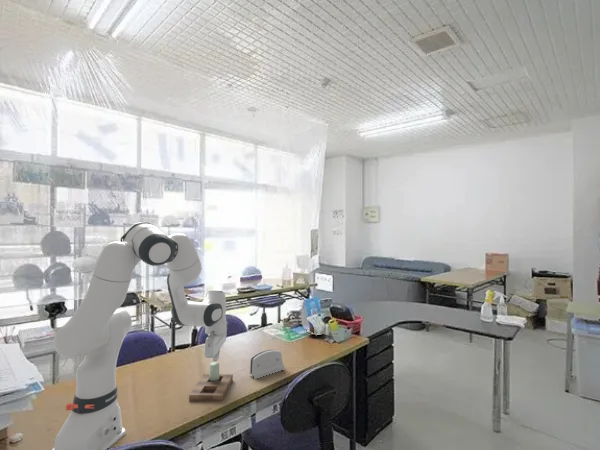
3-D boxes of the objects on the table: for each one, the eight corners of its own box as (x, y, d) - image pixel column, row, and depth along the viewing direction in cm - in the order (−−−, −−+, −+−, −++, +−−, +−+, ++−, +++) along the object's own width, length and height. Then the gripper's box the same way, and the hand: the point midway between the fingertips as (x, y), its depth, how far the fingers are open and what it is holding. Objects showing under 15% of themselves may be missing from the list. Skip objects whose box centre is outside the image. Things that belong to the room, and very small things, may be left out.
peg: (218, 387, 141) (218, 366, 141) (208, 387, 141) (208, 366, 141) (220, 382, 145) (220, 362, 145) (210, 382, 145) (210, 362, 145)
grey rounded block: (254, 379, 148) (253, 356, 149) (249, 376, 152) (247, 354, 153) (285, 369, 158) (283, 348, 159) (279, 367, 162) (278, 346, 163)
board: (222, 401, 130) (222, 395, 130) (189, 401, 130) (189, 395, 130) (232, 380, 148) (232, 374, 148) (203, 379, 148) (203, 374, 148)
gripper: (216, 335, 132) (216, 370, 132) (228, 321, 153) (229, 351, 153) (200, 335, 133) (200, 370, 133) (215, 321, 153) (215, 351, 153)
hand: (216, 360), depth 143 cm, fingers closed
